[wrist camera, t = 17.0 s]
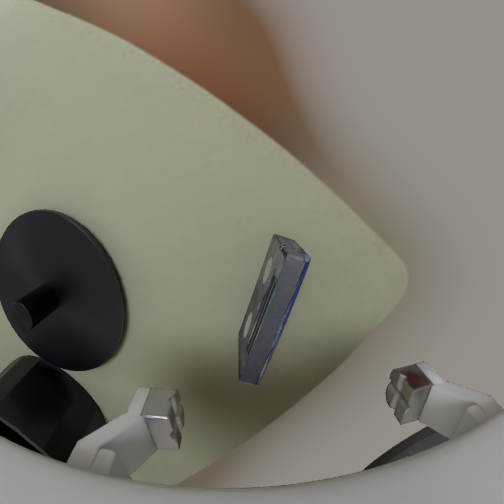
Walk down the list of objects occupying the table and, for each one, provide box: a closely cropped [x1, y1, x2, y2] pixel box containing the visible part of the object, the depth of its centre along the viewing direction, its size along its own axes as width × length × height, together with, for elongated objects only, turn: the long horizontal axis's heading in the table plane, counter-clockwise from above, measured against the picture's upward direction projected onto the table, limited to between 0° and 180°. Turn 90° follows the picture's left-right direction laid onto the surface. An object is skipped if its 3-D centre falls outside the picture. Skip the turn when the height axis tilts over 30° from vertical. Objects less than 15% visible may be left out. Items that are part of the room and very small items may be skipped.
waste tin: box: [0, 356, 106, 463], centre depth 19 cm, size 14×14×10 cm
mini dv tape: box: [239, 234, 311, 385], centre depth 18 cm, size 8×2×6 cm, turn 162°
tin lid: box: [0, 209, 124, 371], centre depth 18 cm, size 15×15×5 cm
